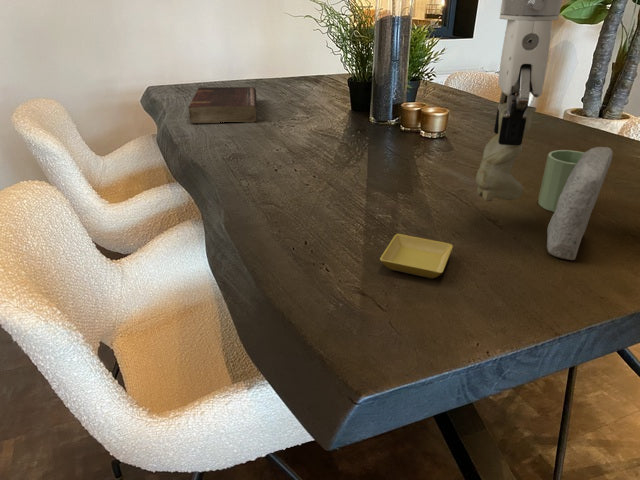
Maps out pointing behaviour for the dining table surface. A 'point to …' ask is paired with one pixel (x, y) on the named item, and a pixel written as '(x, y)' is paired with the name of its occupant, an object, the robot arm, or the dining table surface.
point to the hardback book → (223, 105)
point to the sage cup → (556, 176)
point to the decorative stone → (577, 203)
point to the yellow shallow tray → (416, 256)
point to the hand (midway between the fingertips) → (507, 137)
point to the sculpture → (500, 165)
